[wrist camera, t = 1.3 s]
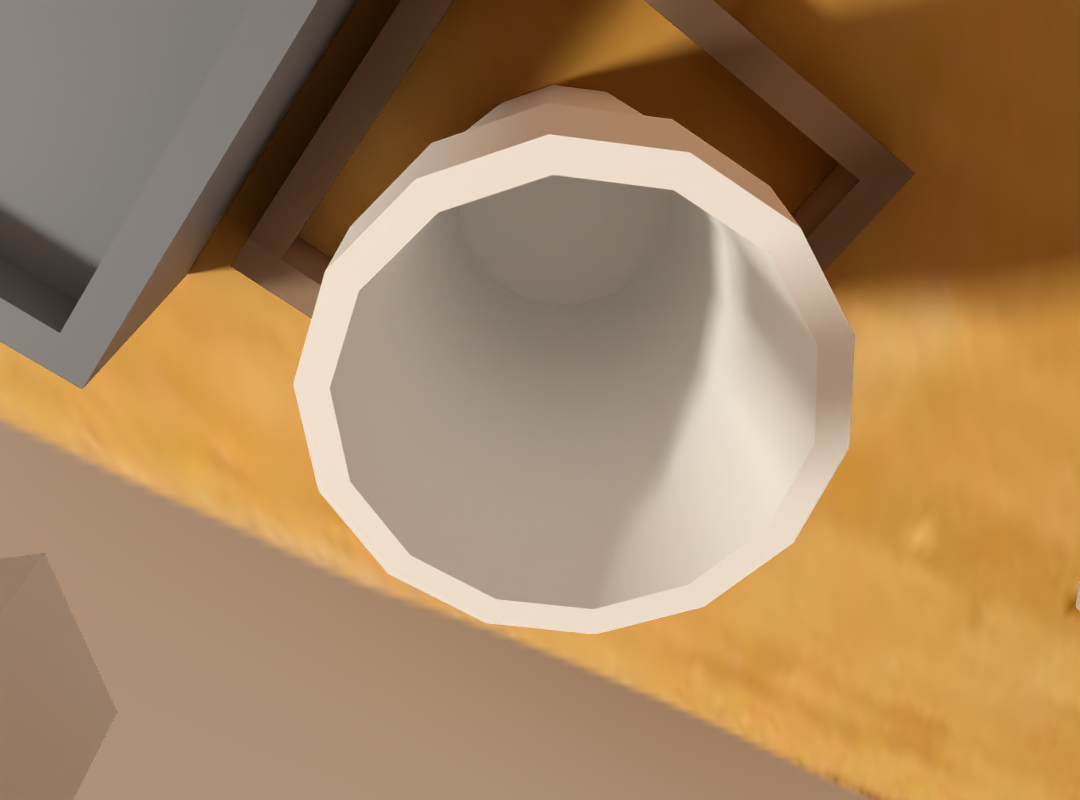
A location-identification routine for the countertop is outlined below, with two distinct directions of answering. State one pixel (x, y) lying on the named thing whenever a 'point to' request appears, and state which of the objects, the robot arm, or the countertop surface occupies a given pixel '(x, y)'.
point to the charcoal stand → (130, 152)
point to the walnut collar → (689, 6)
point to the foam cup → (575, 369)
